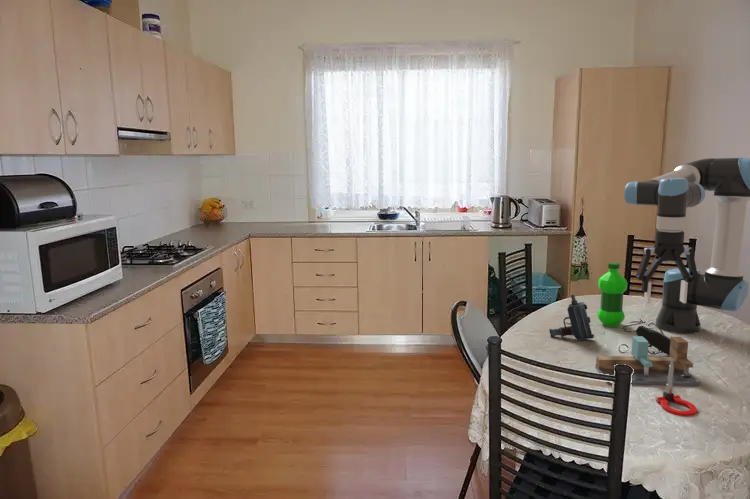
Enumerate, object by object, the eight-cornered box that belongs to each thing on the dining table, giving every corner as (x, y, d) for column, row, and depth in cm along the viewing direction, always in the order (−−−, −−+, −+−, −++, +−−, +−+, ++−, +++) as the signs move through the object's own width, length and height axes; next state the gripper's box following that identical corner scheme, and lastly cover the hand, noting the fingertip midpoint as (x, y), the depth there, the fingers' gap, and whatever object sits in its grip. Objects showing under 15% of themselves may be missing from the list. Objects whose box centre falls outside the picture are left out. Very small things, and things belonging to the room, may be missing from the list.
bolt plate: (680, 369, 167) (681, 364, 166) (699, 385, 155) (699, 381, 155) (595, 367, 170) (595, 363, 169) (607, 383, 158) (607, 379, 158)
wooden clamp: (680, 364, 167) (682, 336, 165) (695, 378, 157) (698, 348, 155) (595, 363, 170) (596, 335, 168) (604, 376, 160) (606, 347, 158)
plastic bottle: (620, 320, 214) (623, 260, 209) (627, 329, 203) (631, 266, 199) (594, 320, 215) (596, 260, 211) (600, 328, 205) (603, 266, 201)
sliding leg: (640, 363, 168) (642, 336, 166) (653, 377, 158) (655, 348, 157) (630, 363, 169) (632, 336, 167) (642, 376, 159) (644, 348, 157)
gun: (542, 299, 199) (583, 292, 193) (553, 341, 200) (594, 335, 194) (541, 301, 197) (583, 294, 190) (552, 343, 198) (594, 338, 191)
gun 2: (670, 374, 176) (689, 351, 172) (625, 345, 182) (641, 323, 178) (671, 371, 178) (689, 348, 174) (626, 343, 185) (642, 320, 181)
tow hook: (703, 416, 139) (679, 398, 148) (709, 371, 136) (684, 356, 145) (674, 419, 138) (651, 401, 147) (679, 374, 135) (656, 358, 144)
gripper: (703, 227, 159) (697, 298, 164) (626, 228, 162) (622, 298, 166) (716, 231, 152) (709, 305, 156) (635, 232, 155) (631, 305, 159)
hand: (664, 301), depth 161 cm, fingers open, 10 cm apart
